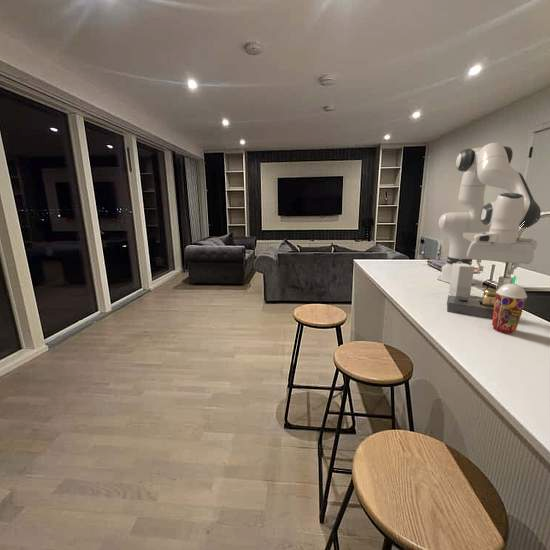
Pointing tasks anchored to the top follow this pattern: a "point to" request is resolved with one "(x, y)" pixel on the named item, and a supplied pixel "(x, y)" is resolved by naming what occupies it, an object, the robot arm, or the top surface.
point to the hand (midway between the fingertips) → (494, 272)
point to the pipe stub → (489, 297)
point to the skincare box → (461, 280)
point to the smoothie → (508, 307)
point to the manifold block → (469, 307)
